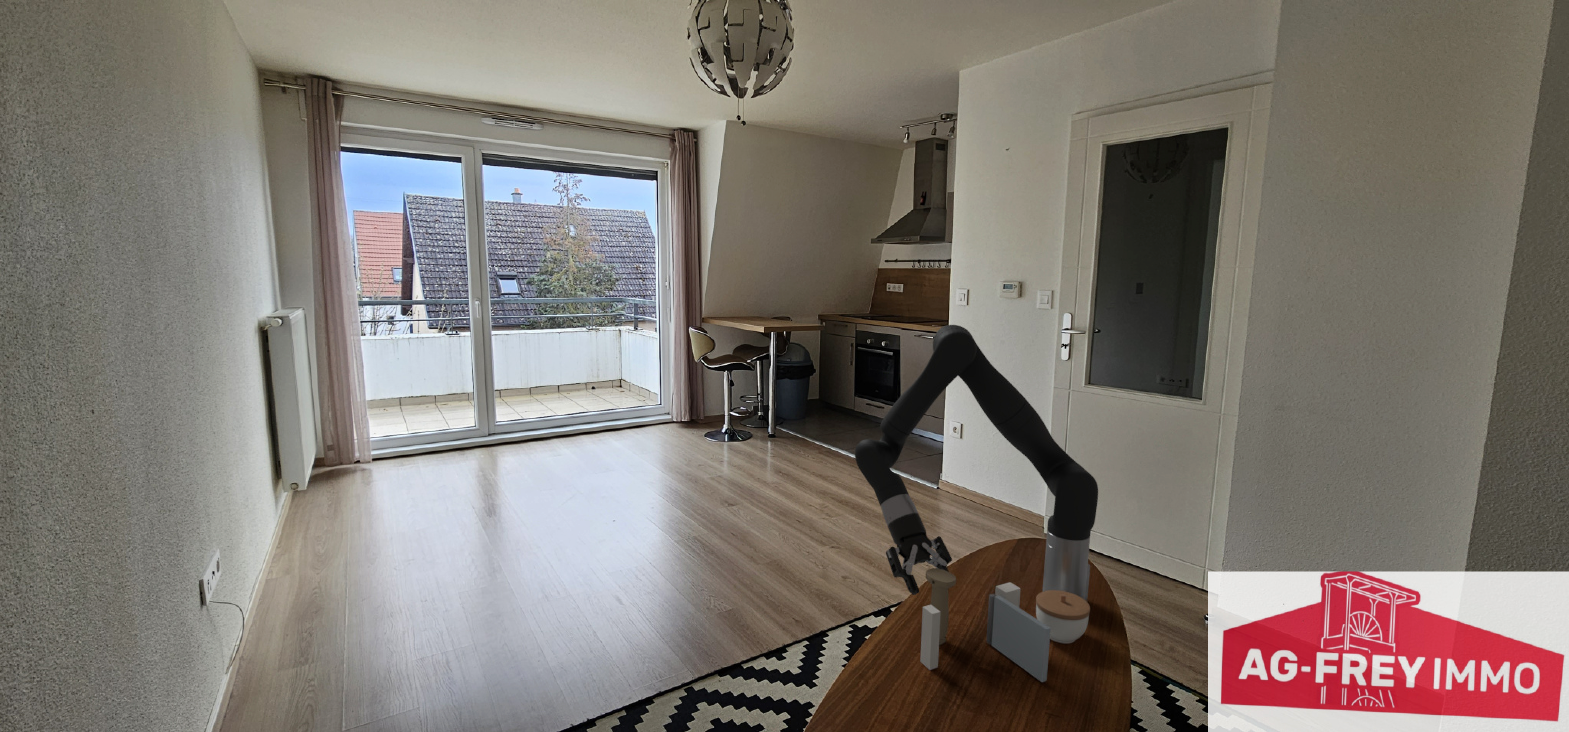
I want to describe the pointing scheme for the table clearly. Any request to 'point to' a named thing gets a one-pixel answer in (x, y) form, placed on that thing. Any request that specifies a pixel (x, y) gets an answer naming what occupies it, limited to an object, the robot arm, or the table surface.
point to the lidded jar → (1063, 614)
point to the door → (1018, 636)
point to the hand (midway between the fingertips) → (932, 589)
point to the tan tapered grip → (941, 596)
